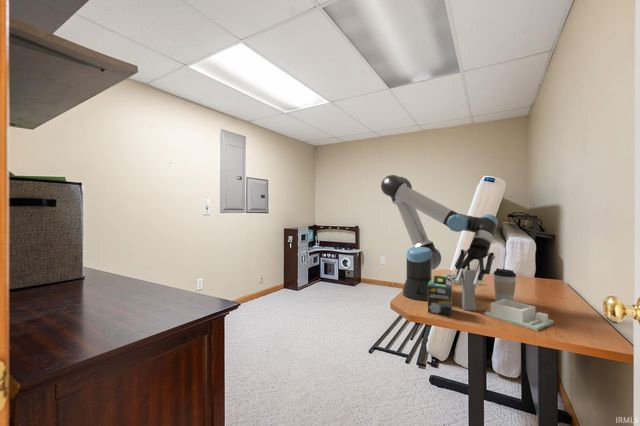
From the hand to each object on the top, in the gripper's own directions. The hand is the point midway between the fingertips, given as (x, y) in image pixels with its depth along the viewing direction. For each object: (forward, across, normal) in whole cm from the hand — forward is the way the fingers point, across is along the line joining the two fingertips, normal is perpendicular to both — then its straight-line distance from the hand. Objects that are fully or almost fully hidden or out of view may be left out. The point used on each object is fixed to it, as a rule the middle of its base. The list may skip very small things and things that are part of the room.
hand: (466, 283), depth 119 cm
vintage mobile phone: (+6, 0, -11) cm, 12 cm away
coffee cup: (-11, -6, -28) cm, 31 cm away
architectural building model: (+3, -17, -13) cm, 21 cm away
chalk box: (+14, +7, -2) cm, 16 cm away
